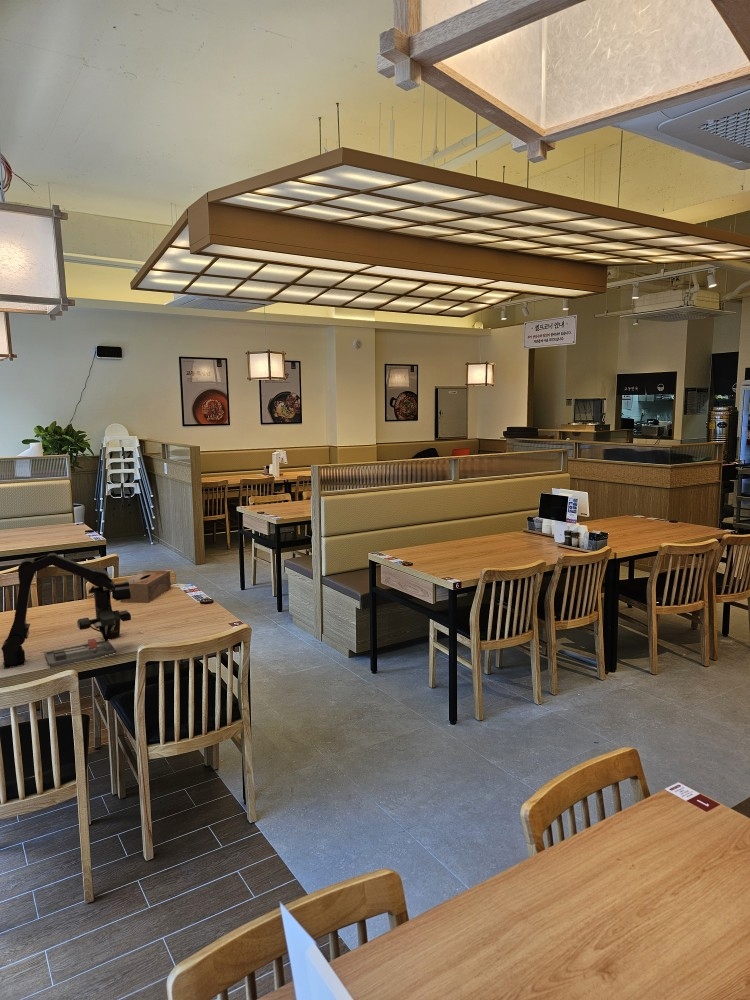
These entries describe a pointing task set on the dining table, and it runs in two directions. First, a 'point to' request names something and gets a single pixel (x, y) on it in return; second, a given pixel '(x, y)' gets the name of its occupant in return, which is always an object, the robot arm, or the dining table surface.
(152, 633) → the dining table surface
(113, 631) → the coffee mug
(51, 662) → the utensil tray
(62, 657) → the tongs fixed body
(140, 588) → the tissue box cover
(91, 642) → the tab
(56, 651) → the bar
